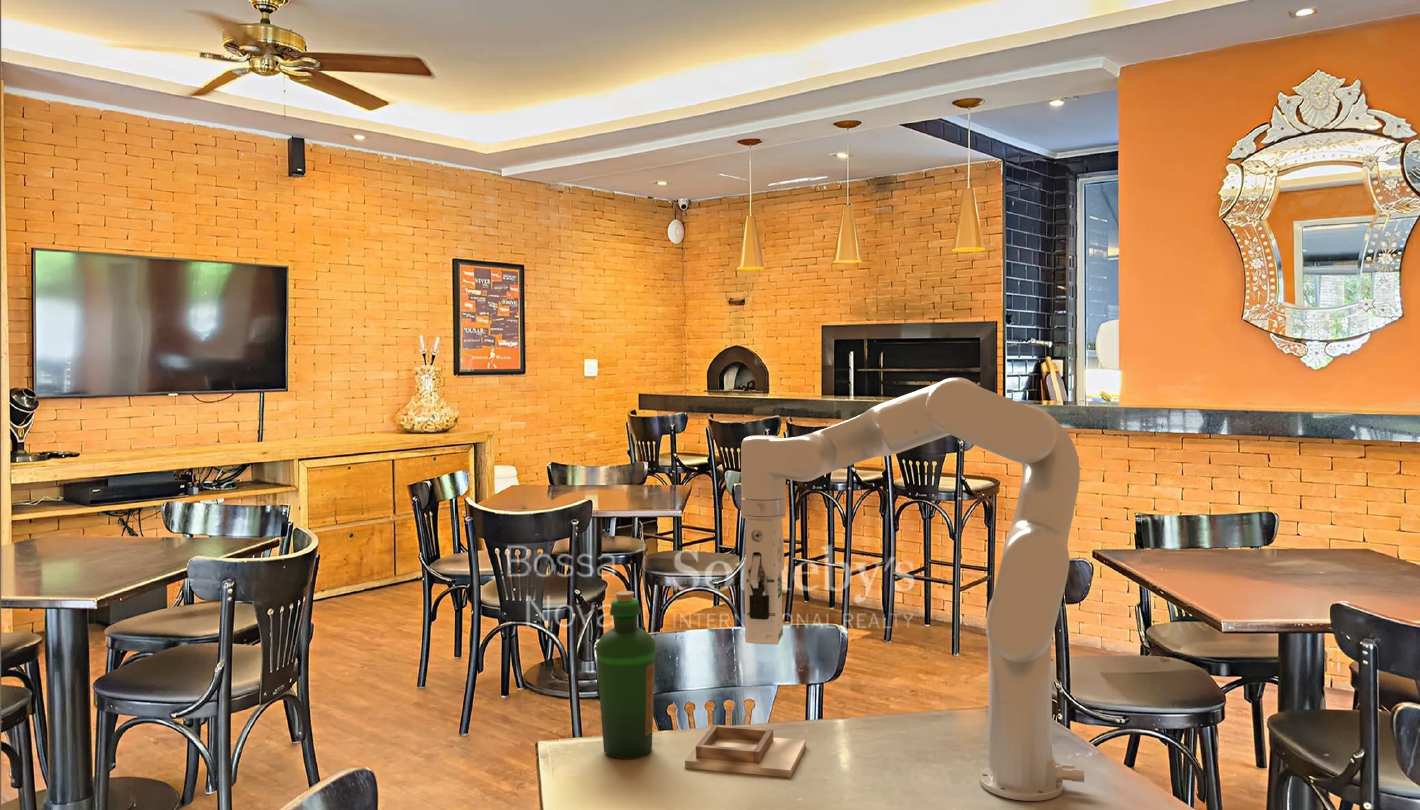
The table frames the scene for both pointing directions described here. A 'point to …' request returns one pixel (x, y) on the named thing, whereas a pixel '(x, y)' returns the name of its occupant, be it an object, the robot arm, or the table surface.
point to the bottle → (626, 681)
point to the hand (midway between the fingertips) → (763, 613)
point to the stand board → (746, 751)
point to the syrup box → (773, 626)
